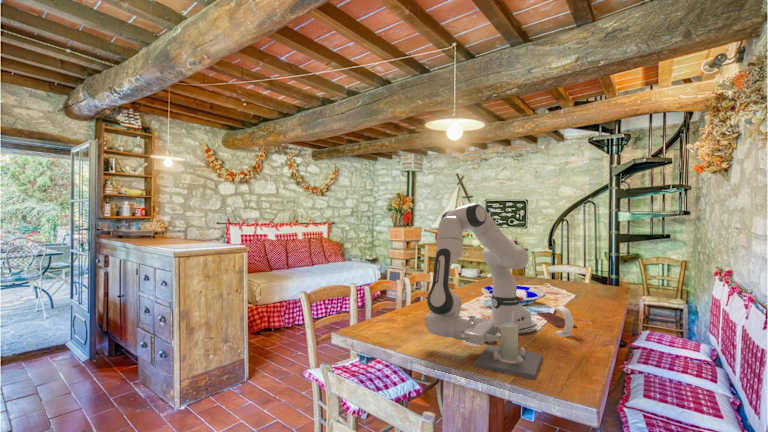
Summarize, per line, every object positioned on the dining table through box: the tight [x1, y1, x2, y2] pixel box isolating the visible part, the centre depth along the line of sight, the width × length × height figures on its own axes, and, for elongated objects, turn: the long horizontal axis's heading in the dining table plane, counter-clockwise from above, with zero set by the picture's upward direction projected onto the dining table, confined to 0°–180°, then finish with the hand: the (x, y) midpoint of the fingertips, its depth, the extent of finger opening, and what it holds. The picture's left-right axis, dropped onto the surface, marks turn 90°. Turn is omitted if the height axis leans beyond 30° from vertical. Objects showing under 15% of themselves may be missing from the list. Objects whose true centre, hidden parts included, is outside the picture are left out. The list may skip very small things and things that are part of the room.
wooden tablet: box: [536, 311, 577, 329], centre depth 186 cm, size 27×10×2 cm, turn 0°
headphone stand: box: [554, 305, 575, 338], centre depth 163 cm, size 5×6×12 cm
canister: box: [500, 323, 519, 361], centre depth 133 cm, size 6×6×12 cm
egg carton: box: [485, 332, 498, 345], centre depth 158 cm, size 11×8×4 cm
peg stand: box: [474, 343, 543, 380], centre depth 133 cm, size 20×20×4 cm
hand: (502, 334), depth 134 cm, fingers open, 8 cm apart
